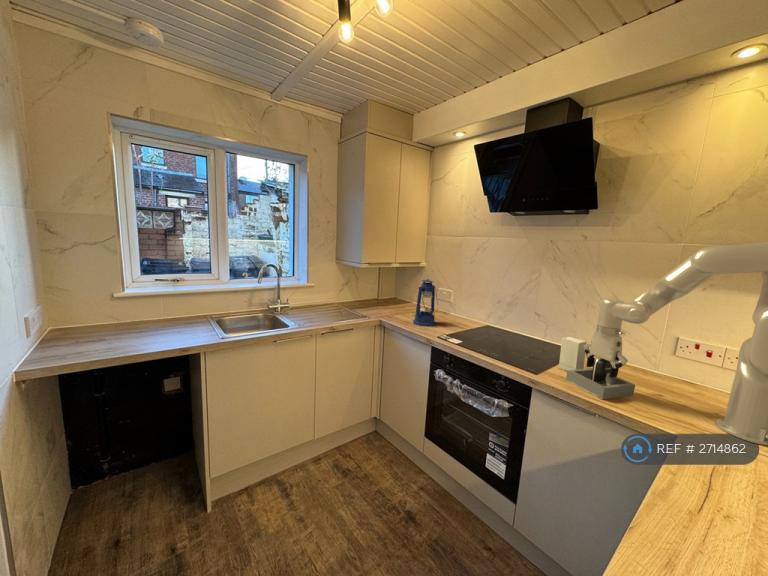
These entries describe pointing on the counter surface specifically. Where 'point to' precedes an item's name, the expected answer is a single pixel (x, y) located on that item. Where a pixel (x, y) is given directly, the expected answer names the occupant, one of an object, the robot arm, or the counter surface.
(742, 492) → the counter surface
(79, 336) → the counter surface
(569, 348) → the skincare box
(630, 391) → the bin
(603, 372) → the dark piece
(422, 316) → the lantern
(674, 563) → the counter surface
